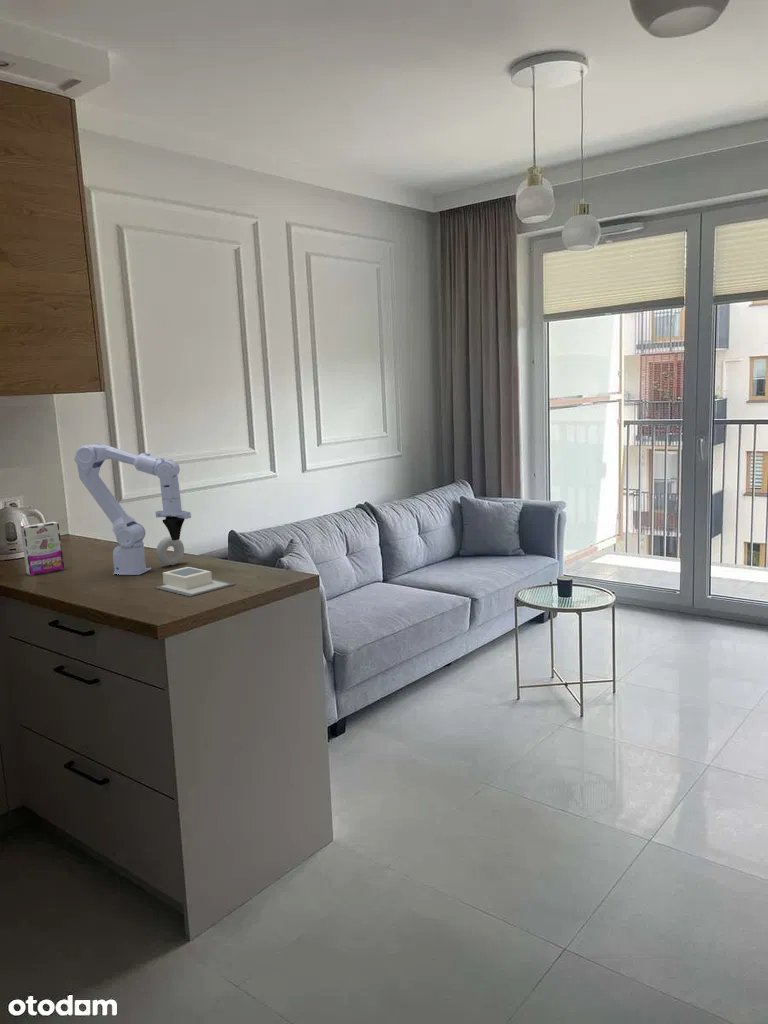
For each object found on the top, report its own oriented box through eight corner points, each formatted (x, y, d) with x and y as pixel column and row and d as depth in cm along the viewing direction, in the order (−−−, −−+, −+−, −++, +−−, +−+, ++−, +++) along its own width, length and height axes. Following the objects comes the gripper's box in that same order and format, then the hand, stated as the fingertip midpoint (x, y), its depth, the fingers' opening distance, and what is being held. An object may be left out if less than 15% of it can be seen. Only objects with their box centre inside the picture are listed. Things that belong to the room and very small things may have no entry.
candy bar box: (60, 567, 261) (54, 520, 258) (64, 570, 257) (59, 522, 254) (25, 573, 254) (19, 525, 251) (29, 576, 250) (23, 527, 247)
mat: (154, 588, 226) (154, 586, 226) (200, 577, 238) (199, 575, 238) (189, 597, 214) (189, 595, 214) (235, 584, 226) (235, 583, 226)
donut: (160, 569, 252) (158, 539, 250) (155, 567, 254) (152, 538, 253) (187, 563, 259) (184, 534, 257) (182, 562, 261) (179, 533, 260)
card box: (162, 572, 228) (185, 577, 220) (188, 566, 235) (211, 571, 227) (163, 583, 229) (186, 589, 221) (189, 577, 236) (212, 582, 228)
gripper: (146, 499, 244) (151, 541, 247) (176, 500, 236) (181, 543, 238) (163, 496, 250) (168, 536, 252) (194, 497, 242) (198, 539, 244)
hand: (175, 539), depth 246 cm, fingers closed
